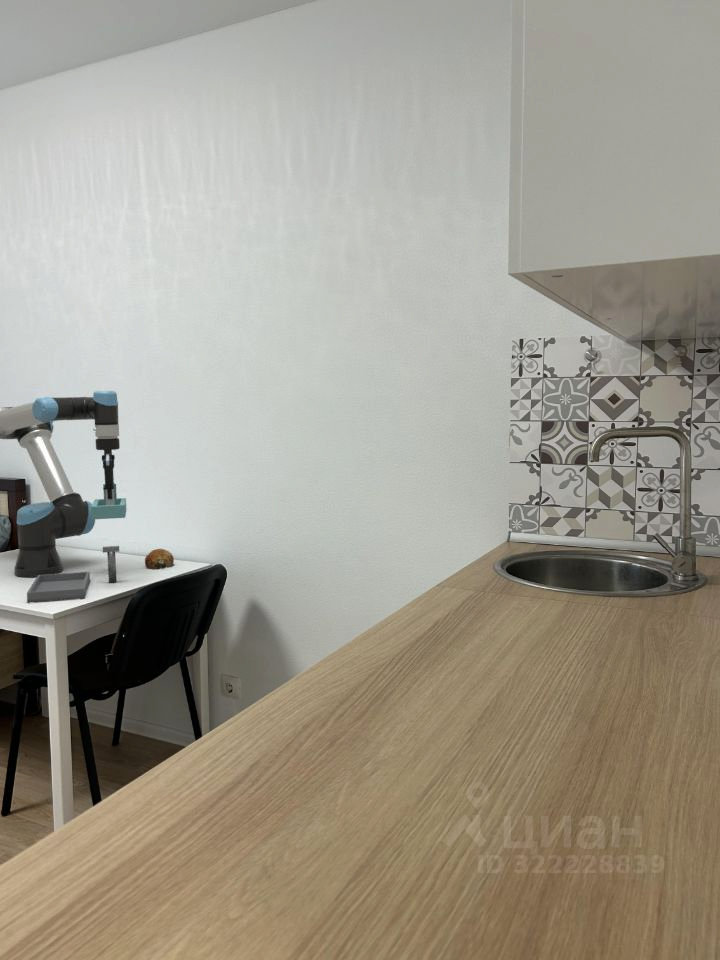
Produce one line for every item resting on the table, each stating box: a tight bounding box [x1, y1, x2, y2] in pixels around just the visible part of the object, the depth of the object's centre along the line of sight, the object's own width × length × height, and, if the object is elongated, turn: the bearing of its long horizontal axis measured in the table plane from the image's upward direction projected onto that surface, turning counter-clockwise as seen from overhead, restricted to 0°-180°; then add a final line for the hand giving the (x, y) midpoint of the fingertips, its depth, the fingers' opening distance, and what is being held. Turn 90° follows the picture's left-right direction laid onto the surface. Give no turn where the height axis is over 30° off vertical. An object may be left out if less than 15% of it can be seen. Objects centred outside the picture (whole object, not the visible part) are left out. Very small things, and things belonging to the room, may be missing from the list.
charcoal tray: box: [26, 571, 91, 603], centre depth 237 cm, size 24×16×3 cm, turn 15°
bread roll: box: [144, 548, 175, 570], centre depth 271 cm, size 10×10×8 cm
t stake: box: [102, 545, 120, 584], centre depth 248 cm, size 2×5×12 cm, turn 105°
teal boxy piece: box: [91, 483, 127, 520], centre depth 249 cm, size 18×10×9 cm, turn 15°
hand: (110, 508), depth 258 cm, fingers closed on teal boxy piece, 1 cm apart
